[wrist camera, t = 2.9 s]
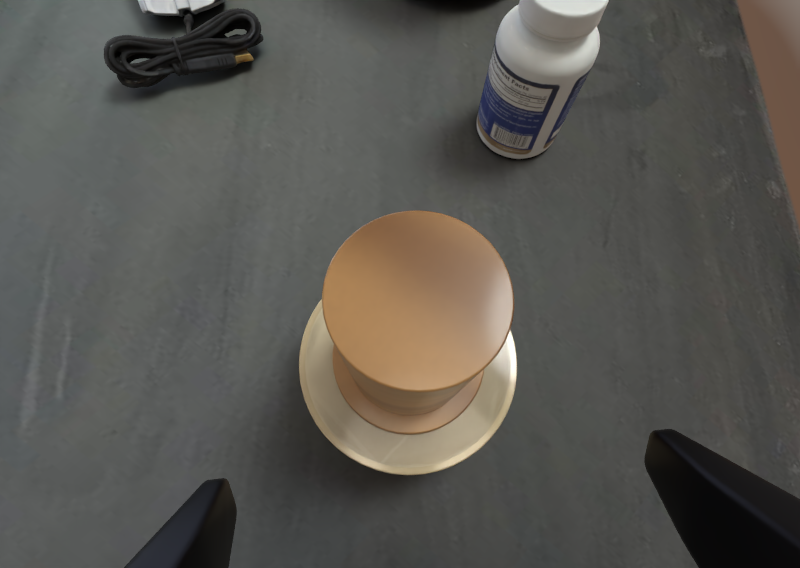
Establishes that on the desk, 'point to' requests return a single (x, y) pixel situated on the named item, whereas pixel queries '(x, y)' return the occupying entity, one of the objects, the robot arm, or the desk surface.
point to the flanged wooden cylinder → (415, 318)
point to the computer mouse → (183, 44)
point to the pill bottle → (537, 73)
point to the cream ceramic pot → (393, 448)
